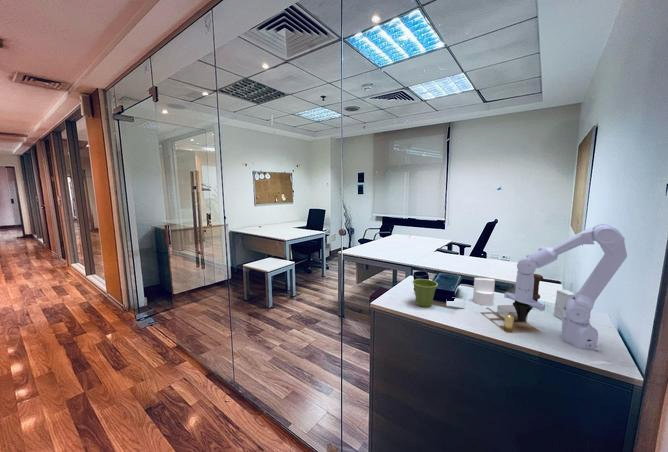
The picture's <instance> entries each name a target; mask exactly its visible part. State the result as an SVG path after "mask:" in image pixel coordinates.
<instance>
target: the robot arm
mask: <svg viewBox="0 0 668 452" xmlns="http://www.w3.org/2000/svg"><path fill="white" fill-rule="evenodd" d="M595 242H596V243H597V244H598V245H599V246H600V248H601V250H602V252H603V253H604V254H603V256H602V258H601V259H600V260H599V262H598V263H597V264H596V266H595V267H594V269H593V271H592V272H591V273H590V274H589V276H588V277H587V279H586V280H585V282H584V283H583V285H582V286H581V288H580V289H579V291H577V292H576V293H575V295H574V296H573V297H572V298H570V299H568V300H567V301H566V302H565V308H566V313H565V314H564V315H563V320H562V323H561V332H560V333H561V334H560V339H562V340H563V341H565V342H567V343H569V344H571V345H573V346H574V347H577V348H578V349H580V350H586V349H588V350H590V349H591V350H593V351H595V352H596V351H599V348H598V339H599V332H598V330H597V329H596V328H595V327H594V326H592V325H591V323H590V322H591V320H590V319H591V312H592V310H593V307H594V306H595V302H596V300H597V299H598V298H599V296H600V295H601V293H602V292H603V291H604V289H605V288H606V287H607V285H608V283H610V281H611V280H612V278H613V277H614V276H615V274H616V273H617V271H619V269H620V267H621V266H622V265H623V263H624V262H625V260H626V259H627V257H628V253H627V249H626V243H625V237H624V236H623V235H622V233H621V232H620V230H619V229H618V228H616V227H614V226H611V225H609V224H605V223H602V224H601V223H600V224H597V225H595V226H593V227H592V228H591V227H590V228H586V229H585V230H583V231H580V232H578V233H576V234H575V235H573V236H571V237H569V238H567V239H566V240H563V241H562V242H560V243H558V244H557V245H555V246H552V247H549V246H545V247H542V246H541V247H538V249H537V251H535V252H533V253H530V254H526V255H525V257H522V258H520V259H519V260H518V261H517V265H516V268H517V272H516V274H517V275H516V279H515V280H516V281H515V292H514V293H511V292H504V295H503V296H504V298H506V299H509V300H512V301H514V302H512V305H513V306H514V307H515V309H516V312H517V316H518V320H519V321H521V322H523V321H525V319H526V317H527V315H529V313H530V312H531V311H532V309H533V308H535V309H536V310H538V311H540V312H542V311H545V310H546V308H545V307H546V305H545V304H543V303H540V302H538V301H535V300H533V288H534V274H535V272H536V270H537V269H541V268H543V267H545V266H547V265H550V264H551V263H553V262H555V261H557V260H558V257H559V256H560V255H562V254H563V253H565V252H568V251H570V250H573V249H575V248H577V247H580V246H582V245H595ZM525 322H526V321H525Z"/></svg>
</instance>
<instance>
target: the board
mask: <svg viewBox="0 0 668 452" xmlns="http://www.w3.org/2000/svg"><path fill="white" fill-rule="evenodd" d="M485 308H486V309H485V310H487V309H488V310H489V311H490V312H480V314H481V315H482V316H484V317H485V318H486V319H488V320H489V321H491V322H492V323H493V325H495V326H497V327H498V328H499V329H500V330H502V331H504V332H505V333H506V334H514V333H515V334H516V333H517V334H518V333H528V334H529V333H542V331H541V330H539V329H538V328H536V327H535V326H533V325H531V324H529V323H528V321H523V322H521V321H519V320H518V317H514V324H513V332H507V331H505V330H504V324H503V325H499V324H497V323H496V321H503V322H504V320H505V319H503V318H502V317H501V316H499V315H498V314H497V311H494V310H493V309H491V308H490V307H485ZM486 314H487V315H490V314H491V315H492V314H493V315H494V316H496V317H494V318H493V317H488V316H487V315H486Z"/></svg>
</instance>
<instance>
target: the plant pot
mask: <svg viewBox="0 0 668 452" xmlns="http://www.w3.org/2000/svg"><path fill="white" fill-rule="evenodd" d="M412 283H413V287H414V295H415V303H416V305H417V306H418V307H422V308H425V307H426V308H430V307H431V306H432V304H433V301H434V296H435V293H436V290H437V287H438V285H439V283H438V282H436V281H434V280H431V279H428V278H427V279H426V278H425V279H424V278H417V279H414V280H412Z"/></svg>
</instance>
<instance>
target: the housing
mask: <svg viewBox="0 0 668 452" xmlns="http://www.w3.org/2000/svg"><path fill="white" fill-rule="evenodd" d="M496 308H497V310H496V312H497V314H498V315H499V316H501V317H502V318H503V319H505V314H511V315H513V316H514V317H518V316H517V312H516V309H515V307H514V306H513V304H497V307H496ZM528 315H529V314H528ZM528 315H527V317H526V319H525V322H528V318H529V317H528Z"/></svg>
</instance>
